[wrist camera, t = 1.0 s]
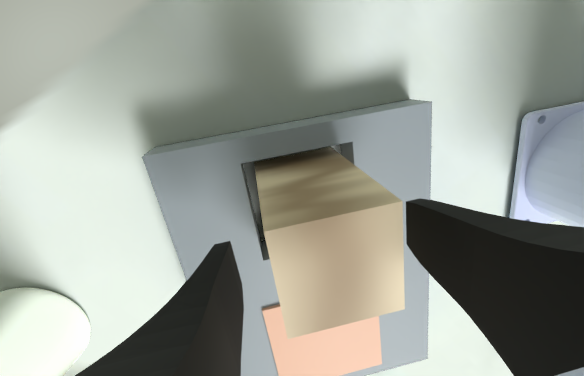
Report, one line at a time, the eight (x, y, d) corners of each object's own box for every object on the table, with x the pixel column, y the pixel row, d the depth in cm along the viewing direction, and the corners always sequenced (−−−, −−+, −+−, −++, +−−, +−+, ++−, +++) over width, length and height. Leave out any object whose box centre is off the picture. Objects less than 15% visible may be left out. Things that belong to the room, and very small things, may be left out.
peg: (330, 147, 16) (402, 201, 9) (338, 215, 18) (404, 309, 11) (253, 162, 16) (263, 231, 9) (268, 230, 18) (287, 339, 10)
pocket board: (410, 99, 16) (434, 101, 14) (412, 335, 23) (429, 361, 21) (154, 147, 15) (140, 157, 13) (234, 383, 22) (234, 415, 19)
